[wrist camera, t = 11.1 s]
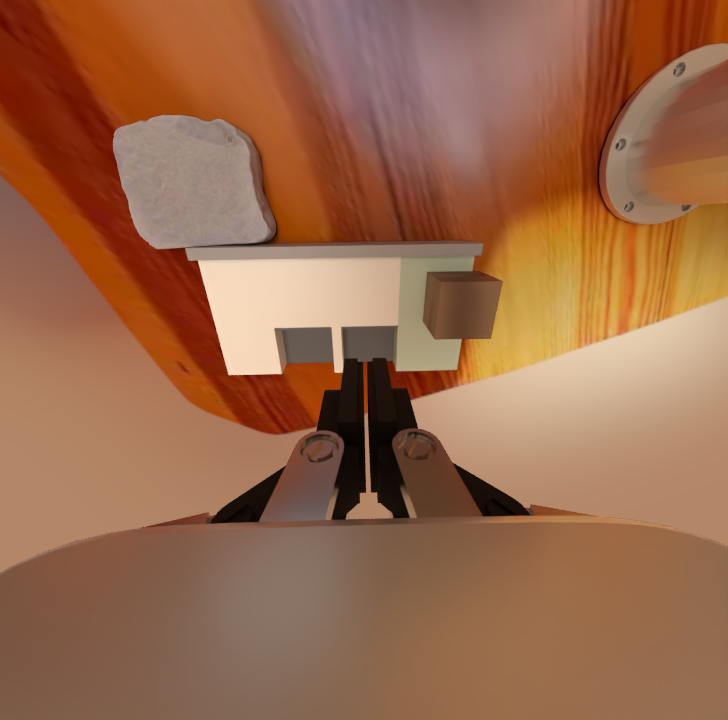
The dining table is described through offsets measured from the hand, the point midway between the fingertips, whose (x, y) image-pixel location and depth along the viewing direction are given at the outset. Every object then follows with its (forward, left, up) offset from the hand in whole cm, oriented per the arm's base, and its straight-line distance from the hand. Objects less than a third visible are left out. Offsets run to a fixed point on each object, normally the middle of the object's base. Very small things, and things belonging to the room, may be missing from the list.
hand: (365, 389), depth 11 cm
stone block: (+14, -9, -22) cm, 27 cm away
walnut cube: (-9, +1, -18) cm, 20 cm away
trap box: (+2, +3, -21) cm, 21 cm away
